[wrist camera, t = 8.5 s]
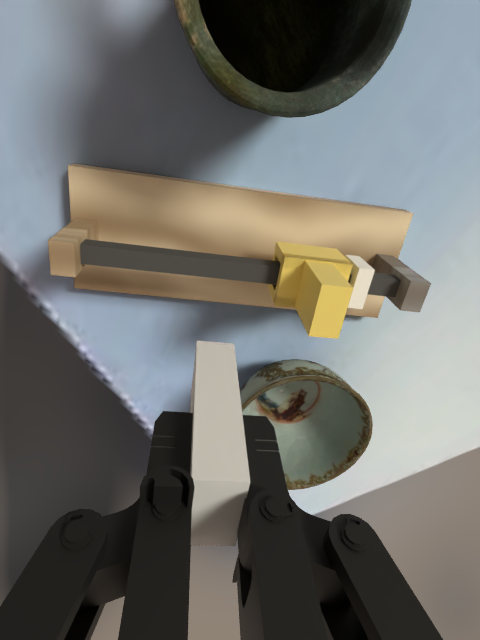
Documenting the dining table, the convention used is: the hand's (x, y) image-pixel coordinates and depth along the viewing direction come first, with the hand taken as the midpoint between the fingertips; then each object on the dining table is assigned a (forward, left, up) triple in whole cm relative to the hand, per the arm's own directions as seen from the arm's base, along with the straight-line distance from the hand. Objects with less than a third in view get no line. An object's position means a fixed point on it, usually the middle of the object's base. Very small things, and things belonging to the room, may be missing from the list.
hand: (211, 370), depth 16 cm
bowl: (+16, +10, -21) cm, 28 cm away
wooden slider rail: (+1, +3, -20) cm, 21 cm away
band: (+1, +11, -16) cm, 20 cm away
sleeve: (+1, +8, -16) cm, 18 cm away
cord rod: (+1, +3, -15) cm, 15 cm away
